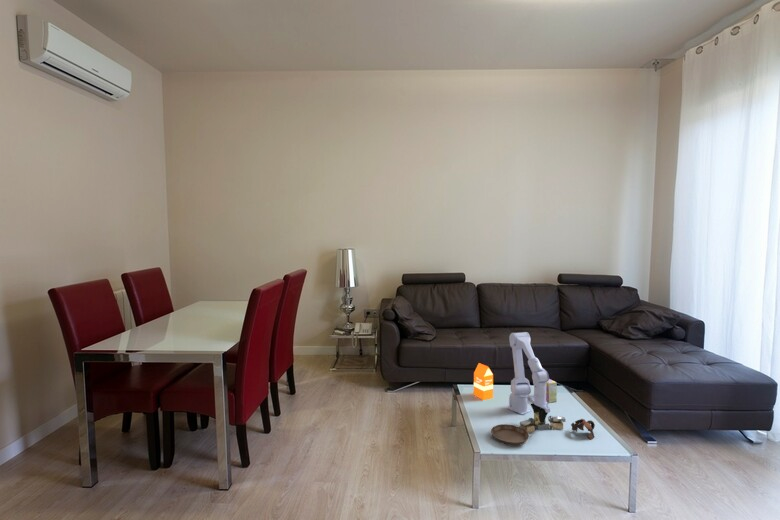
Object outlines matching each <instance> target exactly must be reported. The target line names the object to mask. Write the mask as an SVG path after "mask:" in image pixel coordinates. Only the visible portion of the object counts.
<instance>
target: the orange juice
mask: <svg viewBox="0 0 780 520" xmlns="http://www.w3.org/2000/svg"><path fill="white" fill-rule="evenodd" d="M474 395H476V396H477V397H479V398H481V399H482V400H481V399H480V400H481V401H483V400H485V401H487V400H486V399H488V400H491V398H492V399H494V373H493V372H492V370H491V369H490V367H489V366H488V365H485V364H482V363H480V362H478V364H477V366H476V368H475V370H474V371H473V396H474ZM476 396H475V397H476ZM477 397H476V398H477ZM479 398H478V399H479Z"/></svg>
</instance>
